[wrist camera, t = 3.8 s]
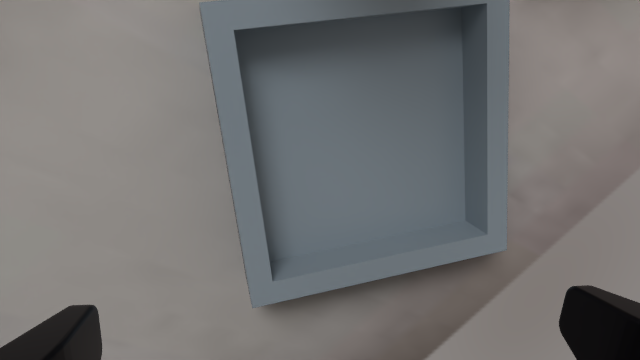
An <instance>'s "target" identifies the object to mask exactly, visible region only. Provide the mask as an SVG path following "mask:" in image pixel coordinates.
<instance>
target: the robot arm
mask: <svg viewBox="0 0 640 360" xmlns="http://www.w3.org/2000/svg"><path fill="white" fill-rule="evenodd" d="M559 327H560V331H561V333H562V336H563V337H564V339H565V340H566V342H567V344H568V345H569V347H570V349H571V350H572V352H573V354H574V355H575V357H576V359H577V360H640V303H638V302H635V301H632V300H630V299H627V298H624V297H621V296H618V295H616V294H613V293H610V292H607V291H604V290H602V289H599V288H596V287H593V286H588V285H587V286H572V287H570V288H569V289H568V290H567V292H566V295H565V299H564V303H563V307H562V311H561V315H560V319H559ZM101 355H102V340H101V331H100V323H99V314H98V310H97V308H96V307H95V306H94V305H72V306H69V307H67V308H65V309H64V310H62V311H60V312H59V313H57V314H55V315H54V316H52V317H50V318H49V319H47V320H46V321H44V322H42V323H41V324H39V325H37V326H36V327H34V328H32V329H31V330H29V331H27V332H26V333H24V334H23V335H21V336H19V337H18V338H16V339H14V340H13V341H11V342H9V343H8V344H6V345H4V346H3V347H1V348H0V360H101Z"/></svg>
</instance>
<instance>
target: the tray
mask: <svg viewBox="0 0 640 360" xmlns="http://www.w3.org/2000/svg"><path fill="white" fill-rule="evenodd" d="M199 4H200V14H201V20H202V26H203V31H204V37H205V43H206V49H207V54H208V60H209V66H210V72H211V77H212V83H213V89H214V95H215V100H216V106H217V112H218V118H219V123H220V129H221V135H222V141H223V146H224V152H225V158H226V164H227V169H228V175H229V181H230V187H231V192H232V198H233V204H234V210H235V215H236V221H237V227H238V233H239V238H240V244H241V250H242V256H243V261H244V267H245V273H246V279H247V284H248V289H249V294H250V299H251V304H252V308H256V307H260V306H265V305H269V304H273V303H278V302H282V301H286V300H291V299H295V298H300V297H304V296H308V295H313V294H317V293H321V292H326V291H330V290H334V289H339V288H343V287H348V286H352V285H356V284H361V283H365V282H369V281H374V280H378V279H383V278H387V277H391V276H396V275H400V274H404V273H409V272H413V271H418V270H422V269H426V268H431V267H435V266H439V265H444V264H448V263H453V262H457V261H461V260H466V259H470V258H474V257H479V256H483V255H488V254H492V253H496V252H501V251H505V250H507V175H508V86H509V0H221V1H211V2H200V3H199Z"/></svg>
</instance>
